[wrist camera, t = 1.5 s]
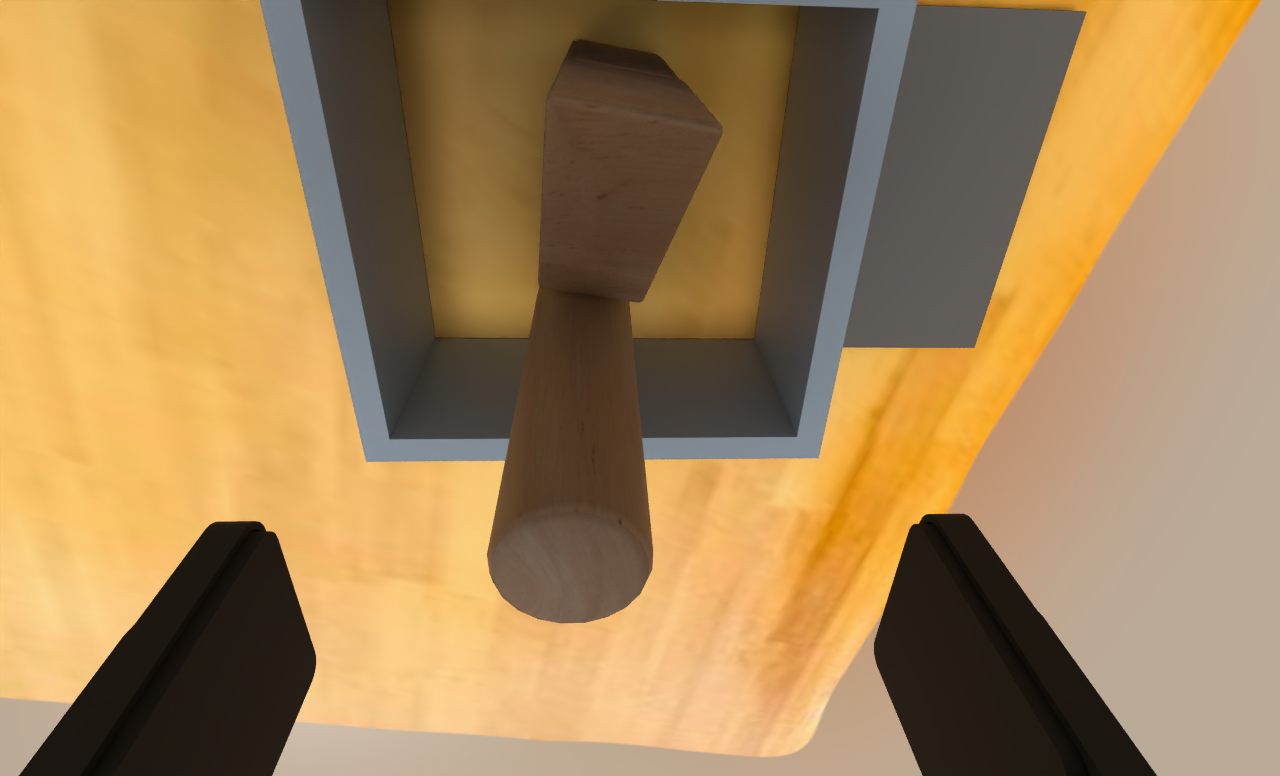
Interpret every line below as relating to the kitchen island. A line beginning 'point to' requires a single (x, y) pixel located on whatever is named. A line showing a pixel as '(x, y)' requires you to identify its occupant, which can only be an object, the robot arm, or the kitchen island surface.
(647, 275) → the brown piece
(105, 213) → the kitchen island surface
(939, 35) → the place mat
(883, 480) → the kitchen island surface
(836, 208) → the box
